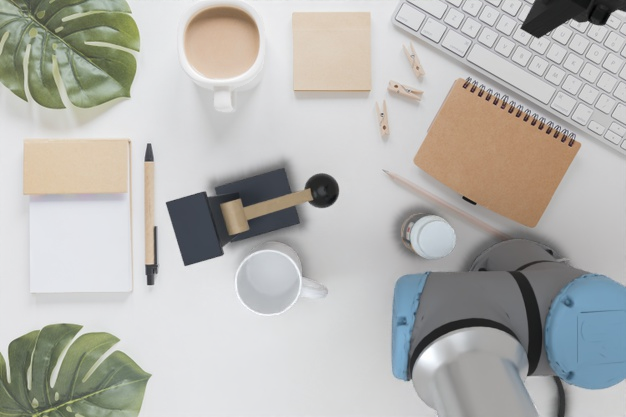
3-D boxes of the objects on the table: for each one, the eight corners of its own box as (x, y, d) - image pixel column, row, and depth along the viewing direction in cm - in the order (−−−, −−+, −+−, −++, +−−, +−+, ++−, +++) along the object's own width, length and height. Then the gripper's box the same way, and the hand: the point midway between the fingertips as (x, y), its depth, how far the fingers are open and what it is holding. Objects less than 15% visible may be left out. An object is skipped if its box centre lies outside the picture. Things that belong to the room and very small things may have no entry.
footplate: (284, 167, 77) (284, 167, 75) (300, 222, 77) (299, 223, 76) (215, 187, 77) (214, 187, 75) (231, 242, 77) (230, 243, 76)
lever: (322, 172, 58) (340, 167, 55) (331, 204, 59) (350, 201, 55) (212, 203, 52) (226, 198, 49) (223, 239, 52) (238, 237, 49)
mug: (334, 258, 77) (339, 270, 67) (316, 313, 78) (318, 334, 67) (254, 232, 77) (246, 240, 67) (236, 288, 77) (225, 304, 67)
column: (239, 187, 75) (204, 191, 49) (251, 229, 76) (222, 255, 49) (214, 195, 75) (165, 202, 49) (226, 236, 76) (184, 266, 49)
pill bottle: (397, 249, 77) (410, 258, 68) (404, 209, 77) (418, 213, 67) (436, 255, 78) (455, 266, 68) (443, 215, 77) (464, 220, 67)
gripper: (1193, -257, 15) (645, 13, 38) (782, -509, 14) (483, -78, 38) (1048, -7, 15) (592, 108, 39) (639, -246, 14) (431, 19, 38)
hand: (538, 16), depth 38 cm, fingers closed
